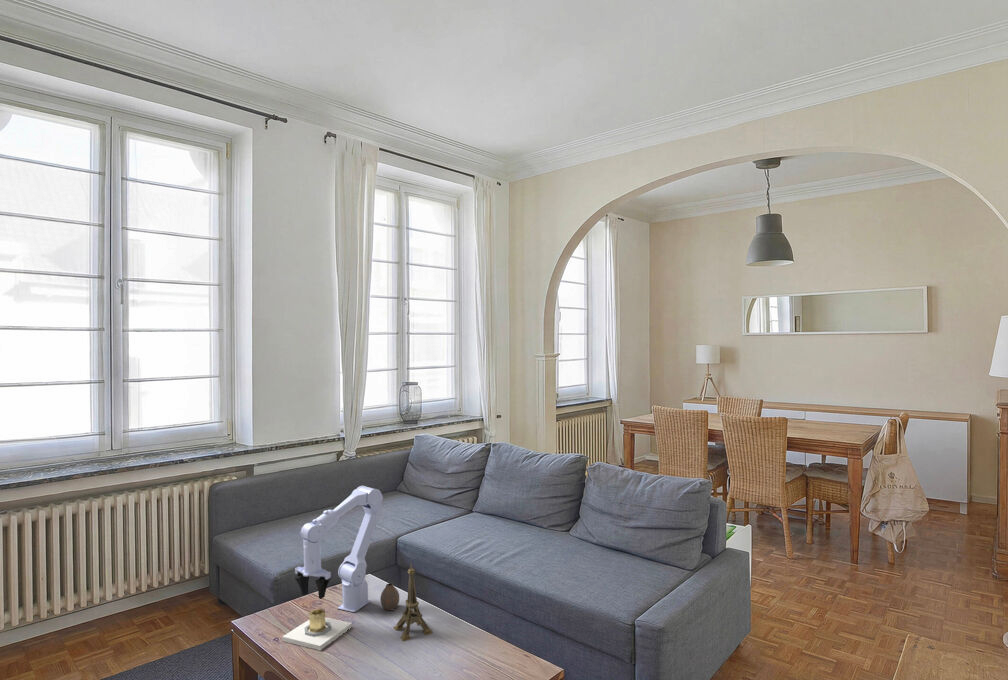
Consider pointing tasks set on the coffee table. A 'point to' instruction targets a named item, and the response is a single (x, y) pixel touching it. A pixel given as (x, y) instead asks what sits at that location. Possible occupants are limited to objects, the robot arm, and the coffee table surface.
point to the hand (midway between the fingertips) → (313, 596)
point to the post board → (317, 634)
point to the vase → (389, 597)
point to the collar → (317, 620)
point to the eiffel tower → (411, 615)
